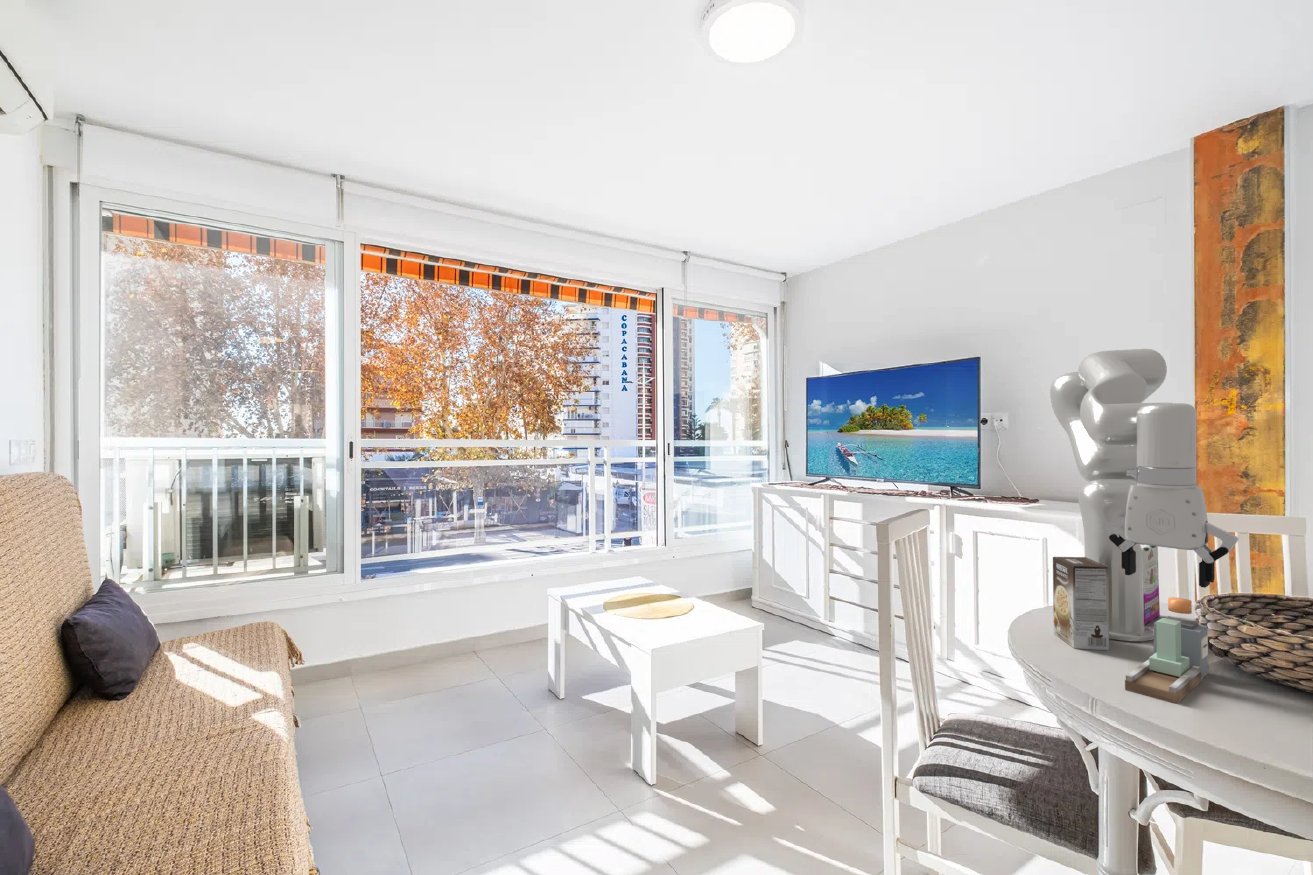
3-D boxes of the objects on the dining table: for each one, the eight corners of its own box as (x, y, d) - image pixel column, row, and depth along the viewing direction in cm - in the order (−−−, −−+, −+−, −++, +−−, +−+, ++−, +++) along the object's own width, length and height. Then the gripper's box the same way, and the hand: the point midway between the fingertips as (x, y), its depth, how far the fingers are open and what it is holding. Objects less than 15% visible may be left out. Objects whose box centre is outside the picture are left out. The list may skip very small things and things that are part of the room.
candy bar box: (1132, 611, 136) (1131, 540, 136) (1160, 616, 132) (1159, 543, 132) (1115, 620, 130) (1114, 546, 130) (1144, 626, 126) (1143, 549, 126)
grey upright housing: (1163, 662, 106) (1162, 614, 106) (1210, 673, 101) (1209, 623, 101) (1154, 669, 103) (1153, 619, 103) (1202, 680, 98) (1201, 628, 98)
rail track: (1152, 669, 103) (1152, 655, 103) (1201, 681, 98) (1201, 667, 98) (1125, 689, 95) (1124, 675, 95) (1176, 703, 90) (1176, 688, 90)
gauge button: (1171, 607, 104) (1171, 596, 104) (1193, 611, 101) (1193, 600, 101) (1166, 610, 102) (1165, 599, 102) (1188, 614, 100) (1188, 603, 100)
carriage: (1158, 662, 101) (1157, 615, 101) (1189, 669, 98) (1188, 621, 98) (1149, 669, 98) (1148, 621, 98) (1180, 677, 95) (1179, 627, 95)
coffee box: (1051, 633, 122) (1050, 555, 122) (1086, 635, 121) (1085, 556, 121) (1073, 649, 113) (1072, 565, 113) (1111, 651, 112) (1110, 566, 112)
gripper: (1095, 476, 103) (1096, 573, 104) (1232, 483, 89) (1231, 595, 90) (1111, 473, 107) (1111, 566, 108) (1243, 479, 93) (1243, 586, 94)
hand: (1166, 579), depth 99 cm, fingers open, 9 cm apart
